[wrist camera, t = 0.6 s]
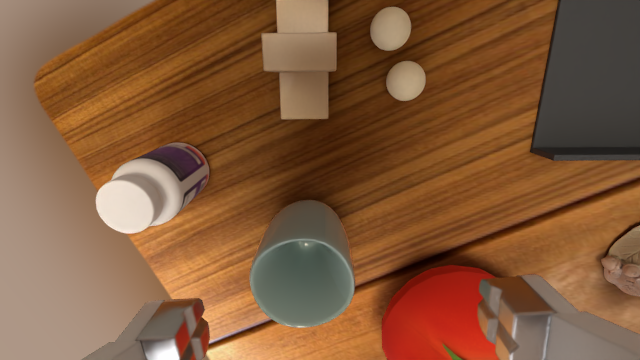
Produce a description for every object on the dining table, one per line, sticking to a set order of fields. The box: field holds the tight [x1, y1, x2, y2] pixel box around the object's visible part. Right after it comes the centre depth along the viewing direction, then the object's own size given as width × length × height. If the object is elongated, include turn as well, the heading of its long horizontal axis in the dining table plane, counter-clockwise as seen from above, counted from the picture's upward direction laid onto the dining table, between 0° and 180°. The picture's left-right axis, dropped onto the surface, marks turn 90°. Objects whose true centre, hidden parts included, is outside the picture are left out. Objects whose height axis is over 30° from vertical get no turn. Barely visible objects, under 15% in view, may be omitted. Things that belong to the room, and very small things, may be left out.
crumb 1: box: [370, 7, 411, 51], centre depth 26 cm, size 3×3×3 cm
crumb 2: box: [386, 61, 426, 101], centre depth 27 cm, size 3×3×3 cm
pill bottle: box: [96, 143, 209, 233], centre depth 27 cm, size 5×5×10 cm
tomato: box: [382, 265, 499, 360], centre depth 31 cm, size 14×16×10 cm
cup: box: [250, 200, 355, 328], centre depth 28 cm, size 8×8×10 cm
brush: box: [261, 0, 337, 119], centre depth 25 cm, size 10×5×7 cm, turn 0°
